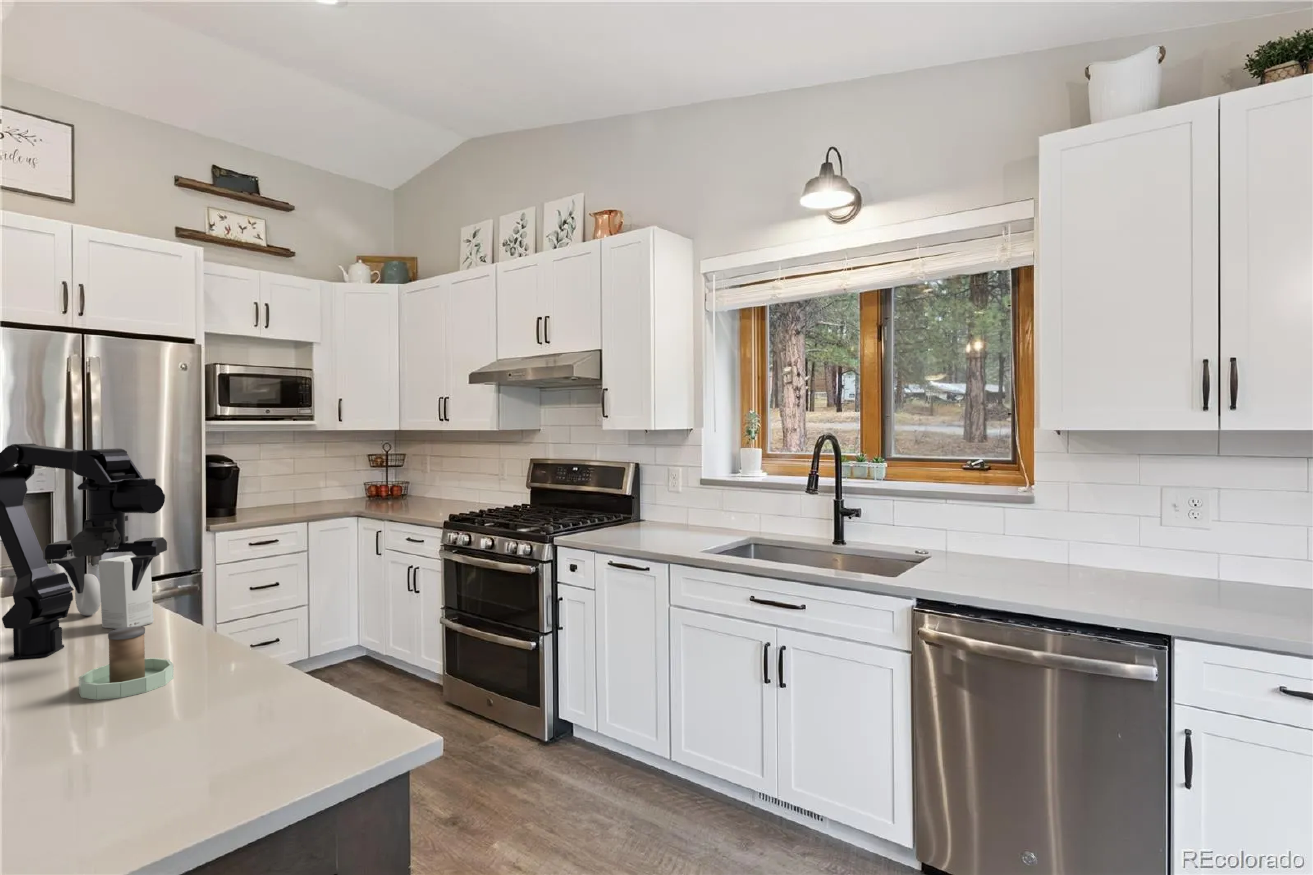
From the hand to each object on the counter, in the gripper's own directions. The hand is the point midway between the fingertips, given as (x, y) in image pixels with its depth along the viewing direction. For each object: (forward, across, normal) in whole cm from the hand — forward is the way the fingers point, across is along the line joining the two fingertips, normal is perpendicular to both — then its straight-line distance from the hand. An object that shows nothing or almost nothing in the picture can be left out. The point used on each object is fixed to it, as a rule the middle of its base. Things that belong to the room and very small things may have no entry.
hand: (107, 591), depth 138 cm
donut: (+13, -20, +36) cm, 43 cm away
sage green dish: (+13, +10, -18) cm, 24 cm away
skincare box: (+13, -7, +24) cm, 28 cm away
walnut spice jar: (+12, +10, -17) cm, 24 cm away
